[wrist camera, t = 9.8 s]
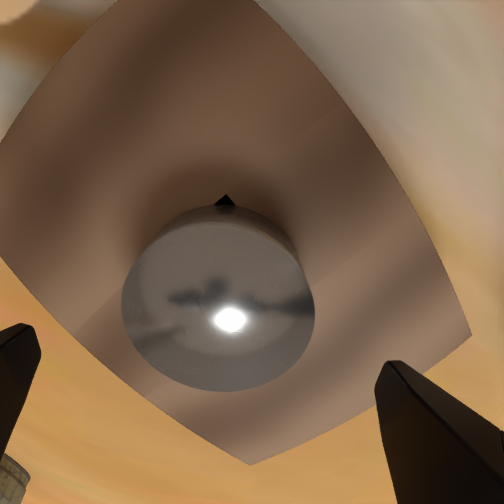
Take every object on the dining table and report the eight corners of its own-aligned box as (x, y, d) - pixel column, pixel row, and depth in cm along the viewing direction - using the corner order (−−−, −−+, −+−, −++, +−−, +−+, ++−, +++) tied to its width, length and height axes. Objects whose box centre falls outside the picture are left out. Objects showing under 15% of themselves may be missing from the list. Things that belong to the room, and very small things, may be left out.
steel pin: (311, 247, 16) (350, 331, 9) (224, 311, 17) (212, 412, 10) (236, 157, 14) (224, 181, 7) (149, 233, 15) (87, 306, 9)
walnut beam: (429, 288, 17) (472, 335, 12) (249, 406, 20) (249, 465, 16) (206, -4, 11) (189, -53, 7) (25, 186, 15) (-33, 209, 10)
